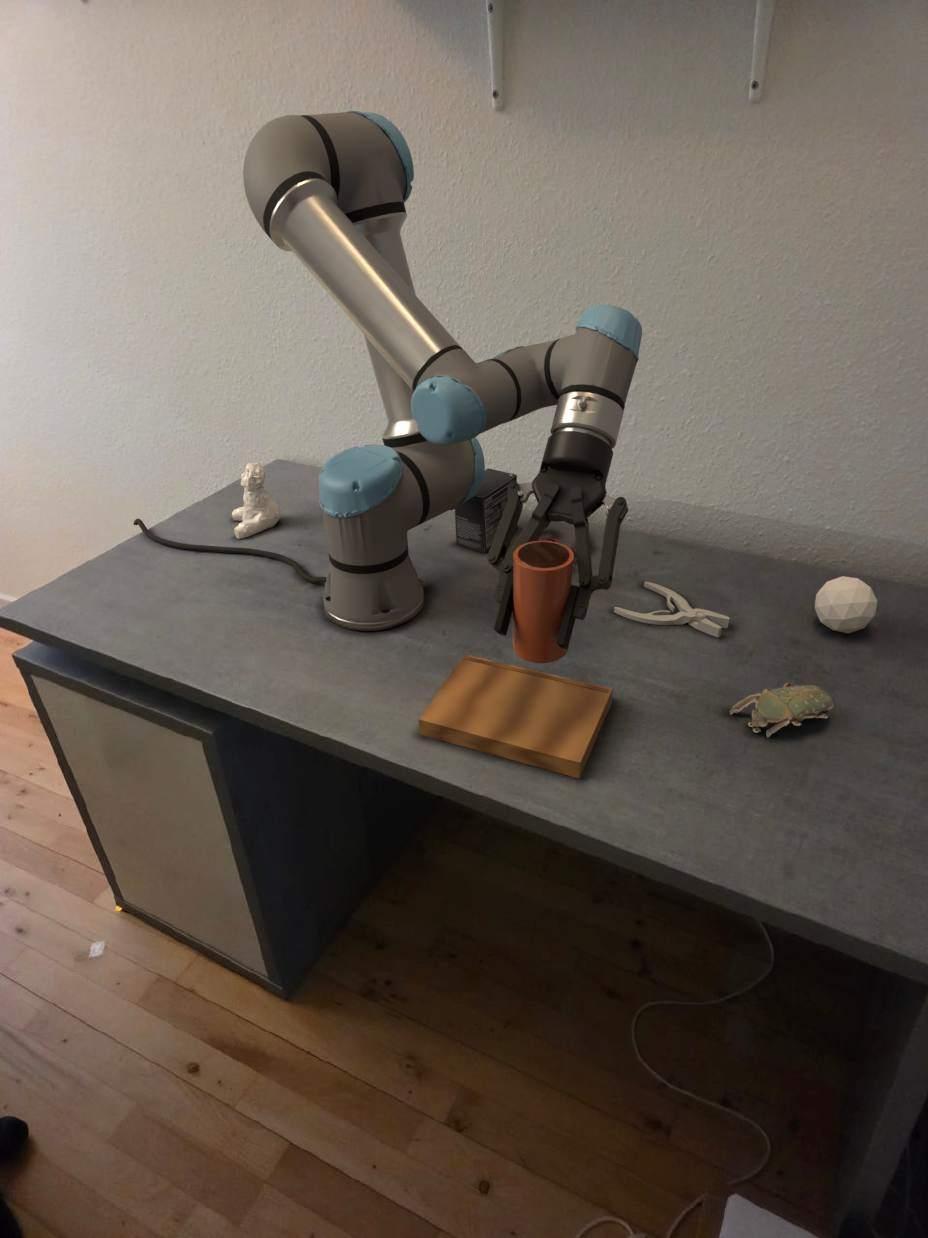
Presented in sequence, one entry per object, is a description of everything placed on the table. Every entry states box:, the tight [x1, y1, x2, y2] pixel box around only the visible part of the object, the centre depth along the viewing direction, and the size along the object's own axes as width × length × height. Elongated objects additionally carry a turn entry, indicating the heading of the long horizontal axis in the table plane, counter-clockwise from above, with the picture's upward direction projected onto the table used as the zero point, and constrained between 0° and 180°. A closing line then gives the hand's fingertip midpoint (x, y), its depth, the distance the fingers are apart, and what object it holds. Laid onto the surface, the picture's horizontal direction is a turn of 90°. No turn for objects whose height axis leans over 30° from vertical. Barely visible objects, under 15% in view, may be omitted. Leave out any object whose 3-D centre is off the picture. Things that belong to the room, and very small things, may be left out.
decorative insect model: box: [728, 682, 835, 738], centre depth 95 cm, size 9×11×5 cm
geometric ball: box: [814, 575, 878, 634], centre depth 109 cm, size 8×8×8 cm
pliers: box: [613, 581, 731, 638], centre depth 115 cm, size 10×2×15 cm
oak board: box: [418, 654, 614, 779], centre depth 97 cm, size 20×14×3 cm
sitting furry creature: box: [231, 461, 281, 540], centre depth 141 cm, size 10×9×12 cm
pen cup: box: [511, 540, 575, 664], centre depth 87 cm, size 6×6×12 cm
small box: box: [454, 467, 519, 554], centre depth 134 cm, size 11×6×10 cm, turn 144°
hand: (530, 639), depth 85 cm, fingers closed on pen cup, 6 cm apart
